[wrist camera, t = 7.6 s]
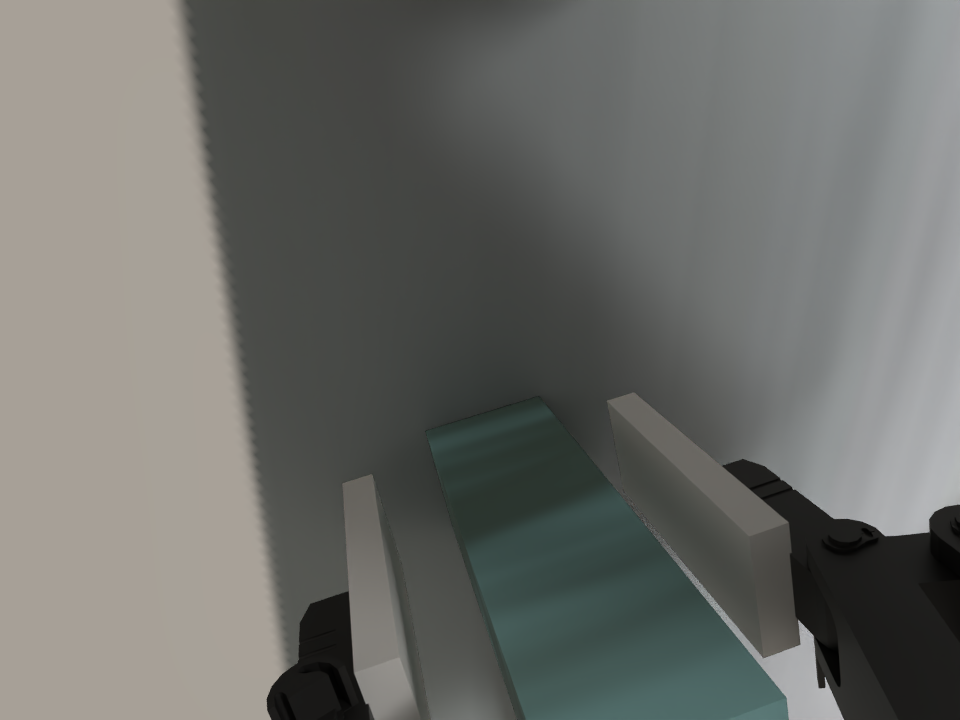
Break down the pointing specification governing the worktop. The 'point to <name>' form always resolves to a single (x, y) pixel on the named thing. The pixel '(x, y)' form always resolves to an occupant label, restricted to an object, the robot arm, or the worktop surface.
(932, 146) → the worktop surface
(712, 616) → the tether block
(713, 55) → the worktop surface
